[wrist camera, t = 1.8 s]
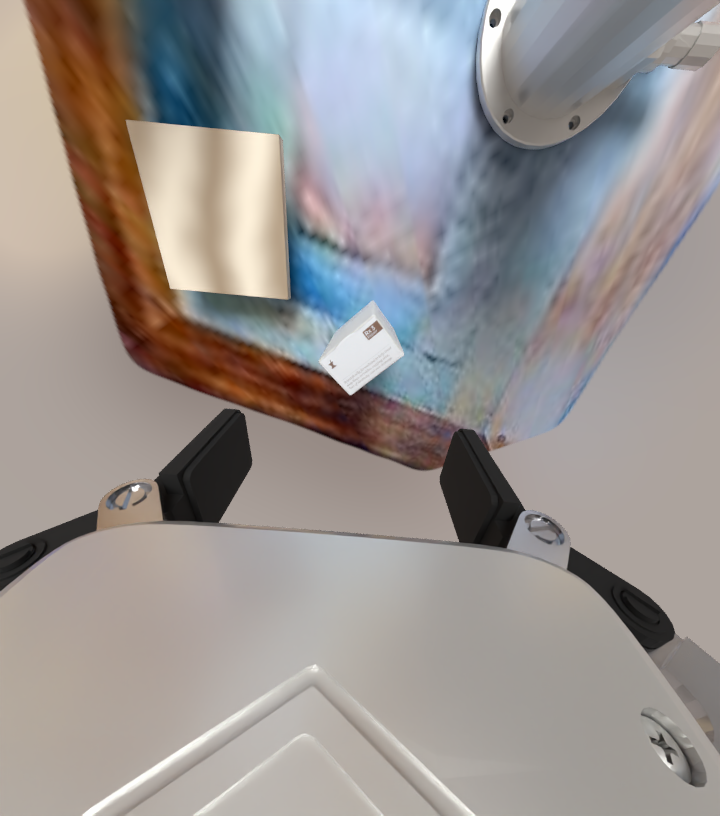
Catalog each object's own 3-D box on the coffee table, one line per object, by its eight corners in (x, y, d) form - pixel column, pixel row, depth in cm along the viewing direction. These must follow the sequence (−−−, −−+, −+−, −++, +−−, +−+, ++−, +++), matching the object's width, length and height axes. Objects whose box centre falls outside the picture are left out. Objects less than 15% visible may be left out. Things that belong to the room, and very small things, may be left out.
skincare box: (356, 357, 33) (350, 401, 22) (333, 330, 31) (314, 364, 21) (395, 326, 31) (408, 359, 20) (372, 295, 29) (373, 313, 18)
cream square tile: (292, 153, 23) (278, 134, 20) (297, 295, 29) (288, 299, 26) (162, 141, 23) (125, 119, 20) (194, 285, 29) (170, 288, 26)
